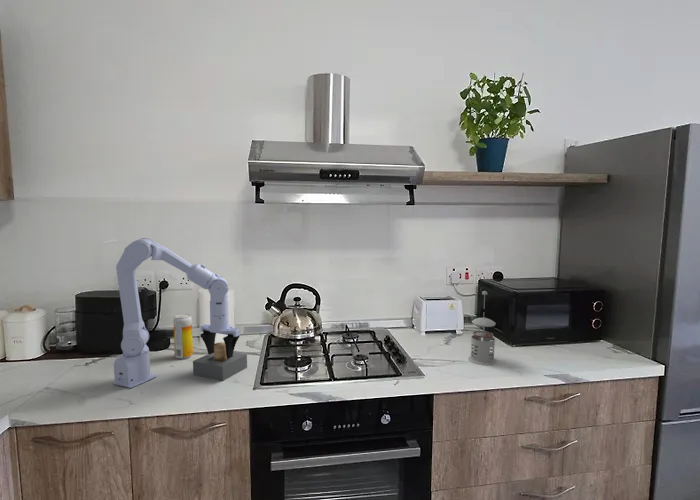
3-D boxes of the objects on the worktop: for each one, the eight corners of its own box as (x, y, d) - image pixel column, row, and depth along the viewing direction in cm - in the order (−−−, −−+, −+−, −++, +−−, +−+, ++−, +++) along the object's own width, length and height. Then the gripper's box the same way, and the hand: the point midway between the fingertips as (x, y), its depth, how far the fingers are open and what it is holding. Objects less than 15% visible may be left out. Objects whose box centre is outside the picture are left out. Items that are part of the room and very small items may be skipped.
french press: (468, 363, 142) (470, 292, 140) (467, 352, 153) (469, 286, 151) (498, 366, 140) (501, 294, 137) (494, 354, 151) (497, 288, 149)
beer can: (196, 354, 151) (194, 314, 149) (188, 360, 145) (186, 318, 143) (180, 353, 151) (178, 313, 150) (171, 359, 145) (169, 318, 144)
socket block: (223, 380, 127) (222, 366, 127) (193, 374, 132) (192, 361, 131) (247, 367, 138) (246, 354, 138) (218, 361, 143) (218, 349, 142)
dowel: (221, 371, 132) (221, 347, 132) (211, 369, 134) (211, 345, 133) (229, 366, 136) (229, 343, 135) (220, 364, 138) (219, 341, 137)
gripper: (245, 313, 134) (246, 354, 135) (210, 309, 140) (211, 348, 141) (231, 319, 128) (232, 361, 129) (195, 314, 133) (196, 354, 135)
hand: (220, 354), depth 134 cm, fingers open, 7 cm apart
